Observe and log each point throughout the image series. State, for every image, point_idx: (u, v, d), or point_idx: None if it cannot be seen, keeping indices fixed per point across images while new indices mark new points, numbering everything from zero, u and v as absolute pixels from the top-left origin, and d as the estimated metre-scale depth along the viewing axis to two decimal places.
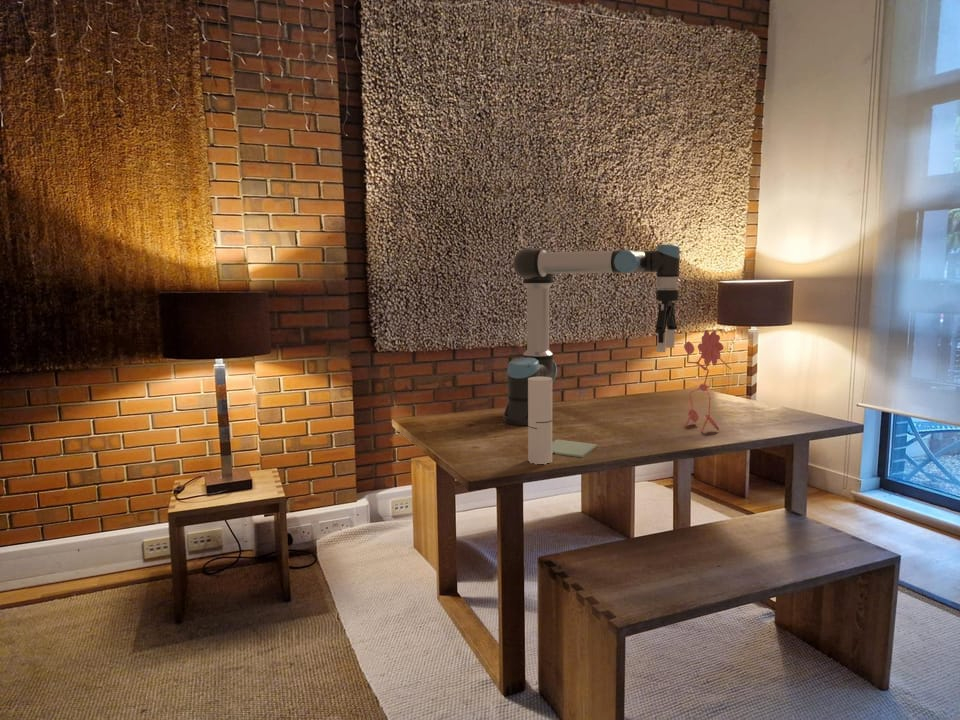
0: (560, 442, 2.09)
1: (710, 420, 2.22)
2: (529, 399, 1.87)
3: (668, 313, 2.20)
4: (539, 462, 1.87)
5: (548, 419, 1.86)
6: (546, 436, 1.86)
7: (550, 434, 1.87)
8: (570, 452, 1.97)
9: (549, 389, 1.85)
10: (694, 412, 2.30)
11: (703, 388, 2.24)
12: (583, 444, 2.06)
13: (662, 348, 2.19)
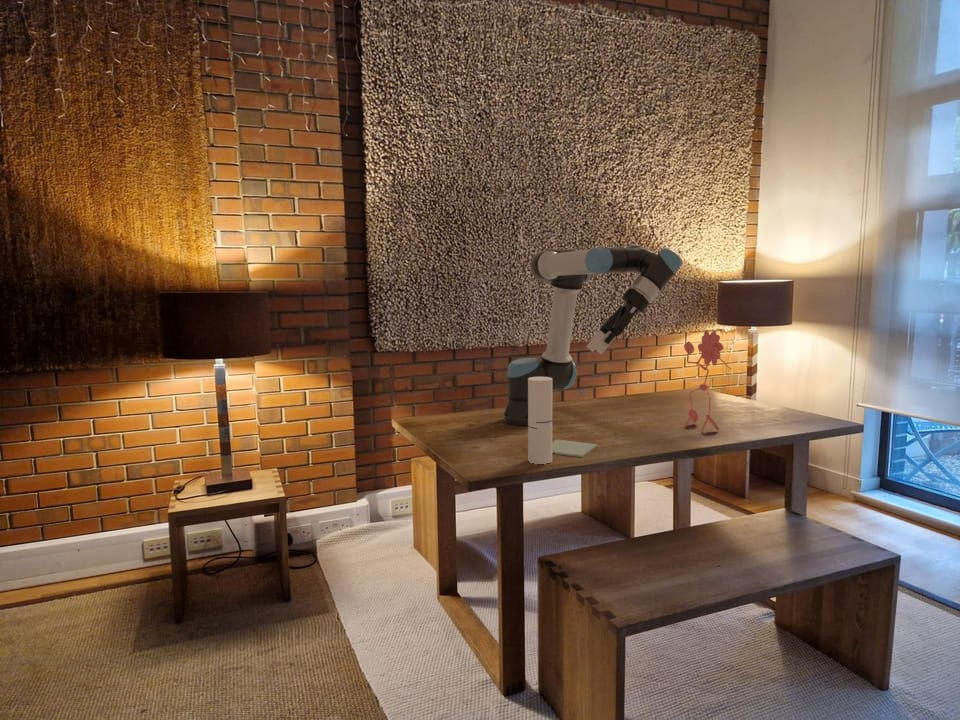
0: (560, 442, 2.09)
1: (710, 420, 2.22)
2: (529, 399, 1.87)
3: None
4: (539, 462, 1.87)
5: (548, 419, 1.86)
6: (546, 436, 1.86)
7: (550, 434, 1.87)
8: (570, 452, 1.97)
9: (549, 389, 1.85)
10: (694, 412, 2.30)
11: (703, 388, 2.24)
12: (583, 444, 2.06)
13: (602, 348, 1.82)
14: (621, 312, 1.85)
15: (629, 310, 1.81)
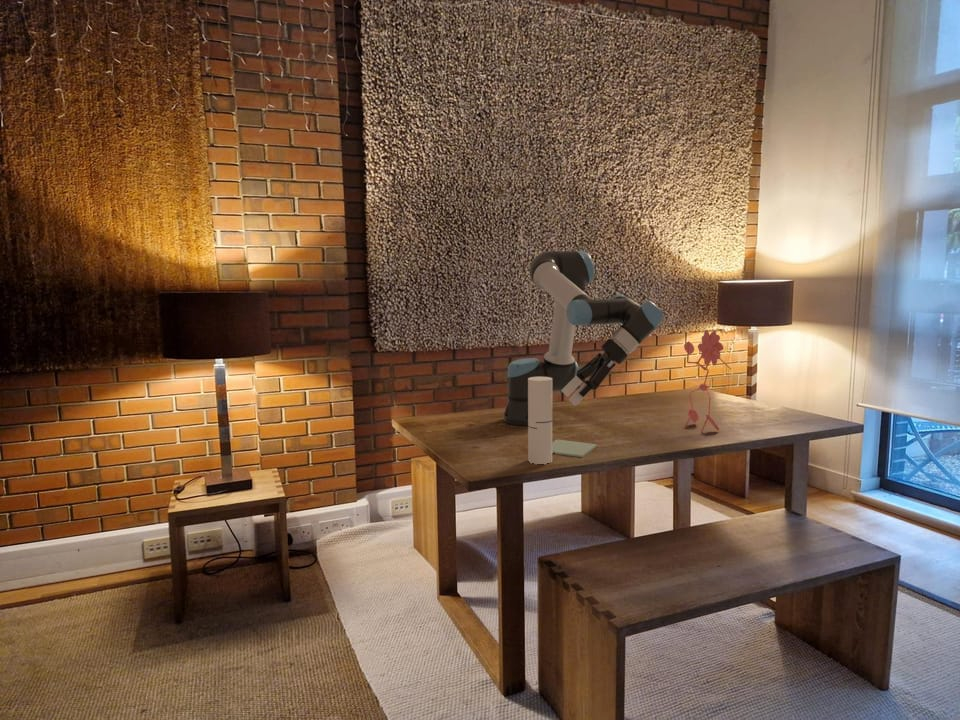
0: (560, 442, 2.09)
1: (710, 420, 2.22)
2: (529, 399, 1.87)
3: None
4: (539, 462, 1.87)
5: (548, 419, 1.86)
6: (546, 436, 1.86)
7: (550, 434, 1.87)
8: (570, 452, 1.97)
9: (549, 389, 1.85)
10: (694, 412, 2.30)
11: (703, 388, 2.24)
12: (583, 444, 2.06)
13: (576, 400, 1.80)
14: (598, 364, 1.83)
15: (606, 364, 1.79)
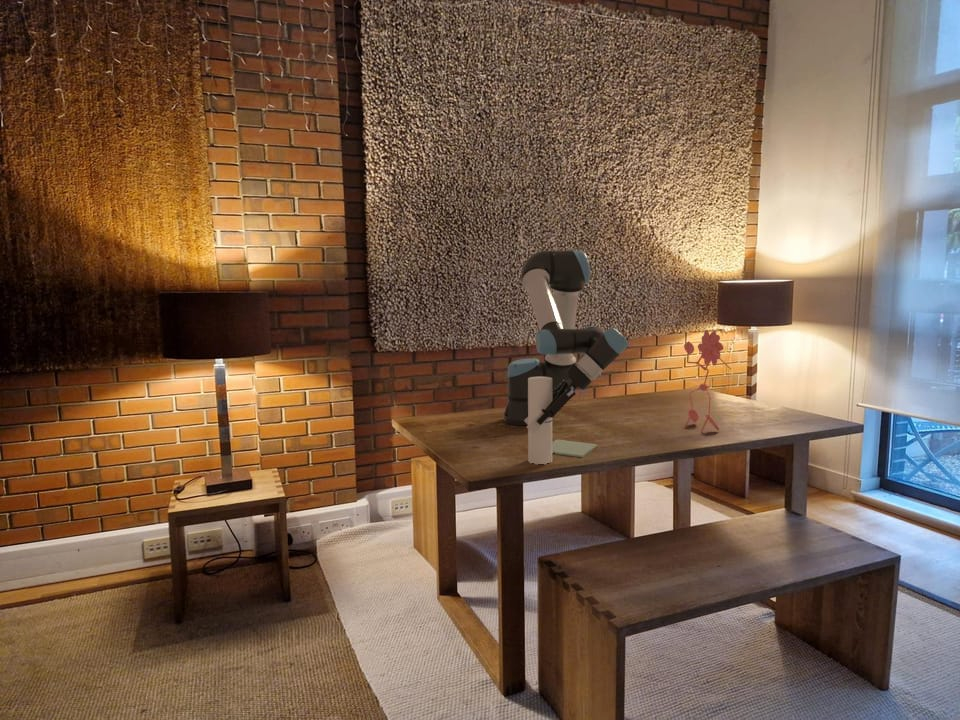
0: (560, 442, 2.09)
1: (710, 420, 2.22)
2: (529, 399, 1.87)
3: None
4: (539, 462, 1.87)
5: (548, 419, 1.86)
6: (546, 436, 1.86)
7: (550, 434, 1.87)
8: (570, 452, 1.97)
9: (549, 389, 1.85)
10: (694, 412, 2.30)
11: (703, 388, 2.24)
12: (583, 444, 2.06)
13: (534, 428, 1.85)
14: (560, 391, 1.85)
15: (566, 393, 1.81)
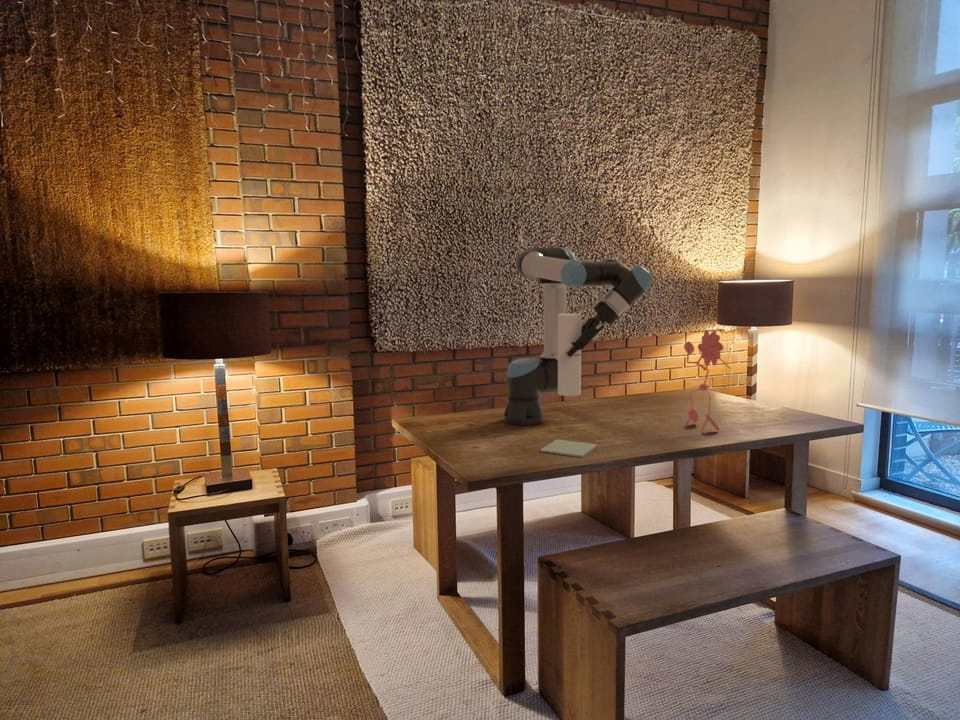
0: (560, 442, 2.09)
1: (710, 420, 2.22)
2: (559, 334, 1.97)
3: None
4: (569, 393, 1.97)
5: (577, 352, 1.96)
6: (575, 368, 1.96)
7: (579, 367, 1.97)
8: (570, 452, 1.97)
9: (578, 323, 1.95)
10: (694, 412, 2.30)
11: (703, 388, 2.24)
12: (583, 444, 2.06)
13: (564, 360, 1.95)
14: (589, 325, 1.95)
15: (595, 326, 1.91)
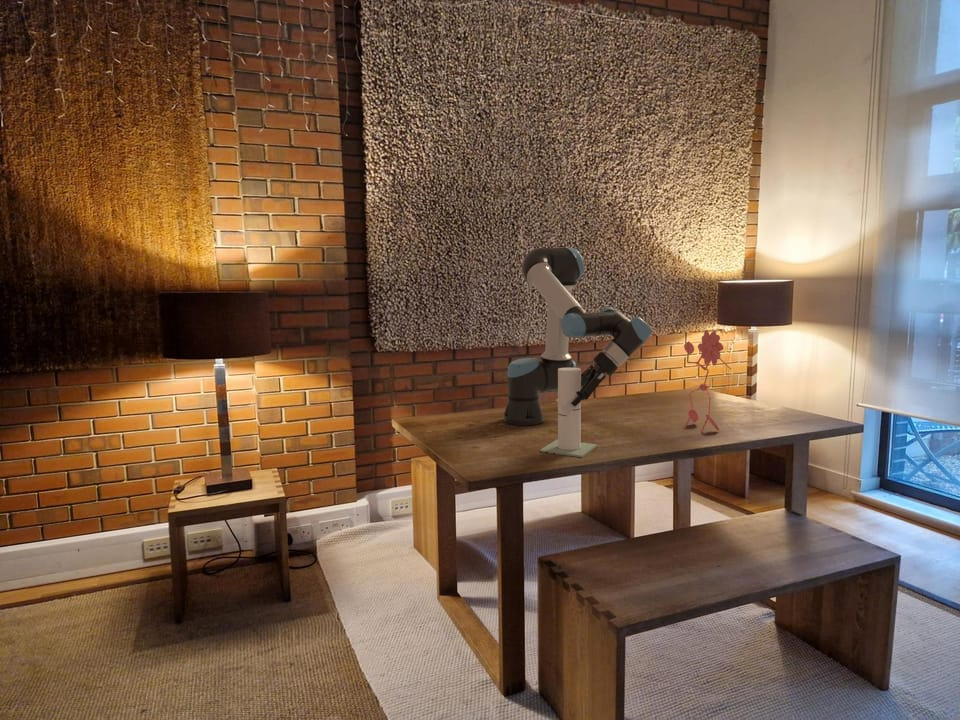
0: None
1: (710, 420, 2.22)
2: (559, 388, 1.99)
3: None
4: (569, 447, 2.00)
5: (577, 407, 1.99)
6: (575, 423, 1.99)
7: (579, 421, 2.00)
8: (570, 452, 1.97)
9: (578, 379, 1.98)
10: (694, 412, 2.30)
11: (703, 388, 2.24)
12: (583, 444, 2.06)
13: (569, 410, 1.94)
14: (590, 375, 1.97)
15: (597, 376, 1.93)
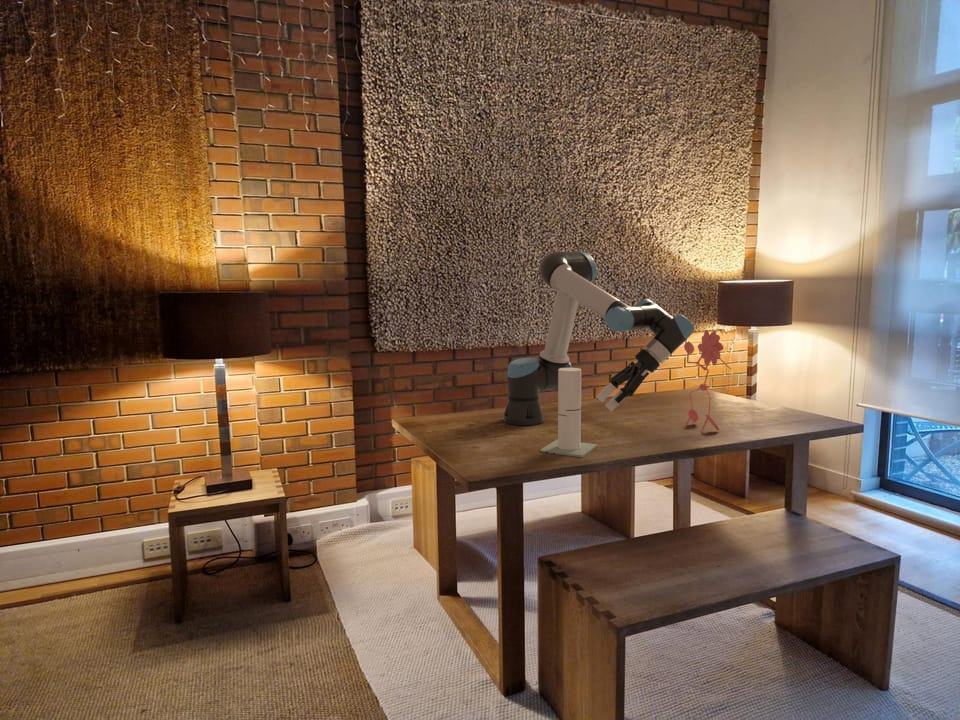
0: None
1: (710, 420, 2.22)
2: (559, 388, 1.99)
3: None
4: (569, 447, 2.00)
5: (577, 407, 1.99)
6: (575, 423, 1.99)
7: (579, 421, 2.00)
8: (570, 452, 1.97)
9: (578, 379, 1.98)
10: (694, 412, 2.30)
11: (703, 388, 2.24)
12: (583, 444, 2.06)
13: (612, 406, 1.94)
14: (633, 372, 1.97)
15: (641, 373, 1.93)
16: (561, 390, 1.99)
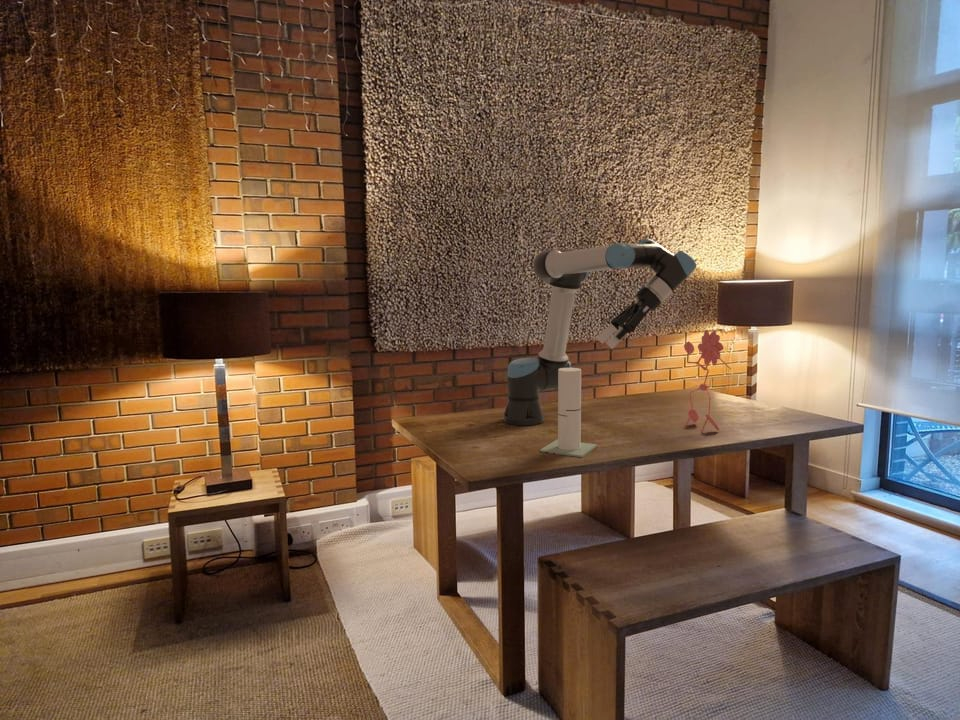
0: None
1: (710, 420, 2.22)
2: (559, 389, 1.99)
3: None
4: (569, 448, 2.00)
5: (577, 407, 1.98)
6: (575, 423, 1.99)
7: (579, 421, 2.00)
8: (570, 452, 1.97)
9: (578, 379, 1.97)
10: (694, 412, 2.30)
11: (703, 388, 2.24)
12: (583, 444, 2.06)
13: (613, 343, 1.91)
14: (634, 310, 1.94)
15: (642, 309, 1.90)
16: (561, 390, 1.98)
